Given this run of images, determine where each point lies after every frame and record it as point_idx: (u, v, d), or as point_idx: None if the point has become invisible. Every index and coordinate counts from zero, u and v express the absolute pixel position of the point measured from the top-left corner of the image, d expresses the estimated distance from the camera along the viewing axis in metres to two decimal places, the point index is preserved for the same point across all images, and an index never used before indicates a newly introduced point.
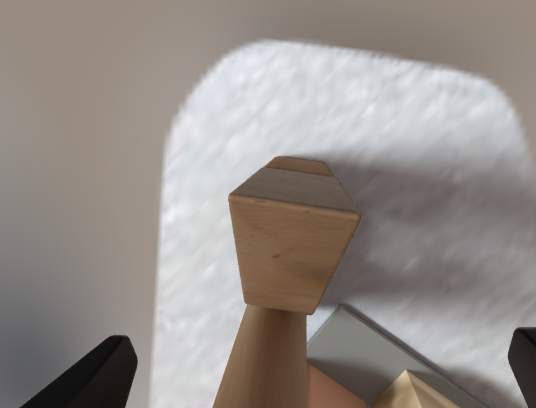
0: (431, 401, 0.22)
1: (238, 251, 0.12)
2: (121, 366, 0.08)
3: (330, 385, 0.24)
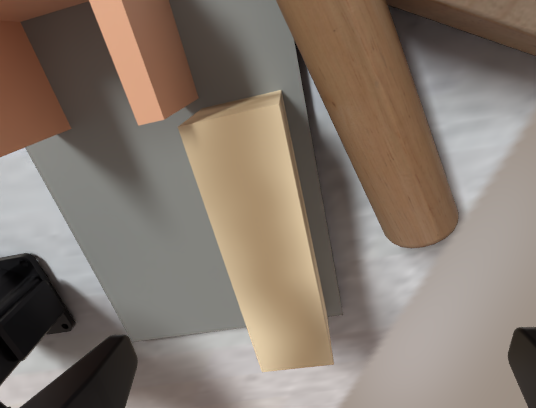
0: (286, 127, 0.15)
1: None
2: (121, 366, 0.08)
3: (170, 23, 0.14)
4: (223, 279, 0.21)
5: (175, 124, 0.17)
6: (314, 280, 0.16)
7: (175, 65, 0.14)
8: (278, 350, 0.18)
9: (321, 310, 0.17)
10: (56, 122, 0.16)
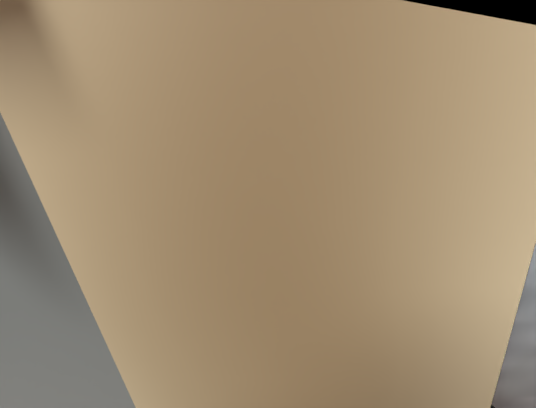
0: None
1: None
2: None
3: None
4: None
5: None
6: None
7: None
8: None
9: None
10: None
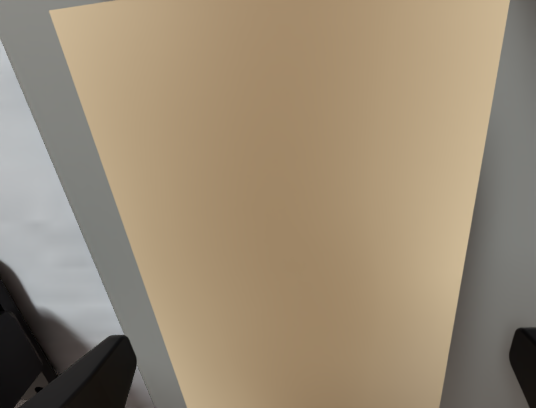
0: None
1: None
2: (120, 366, 0.08)
3: None
4: None
5: None
6: None
7: None
8: None
9: None
10: None
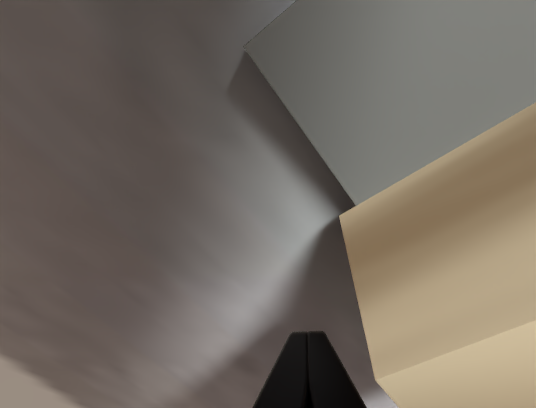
0: None
1: None
2: None
3: None
4: None
5: None
6: None
7: None
8: None
9: None
10: None
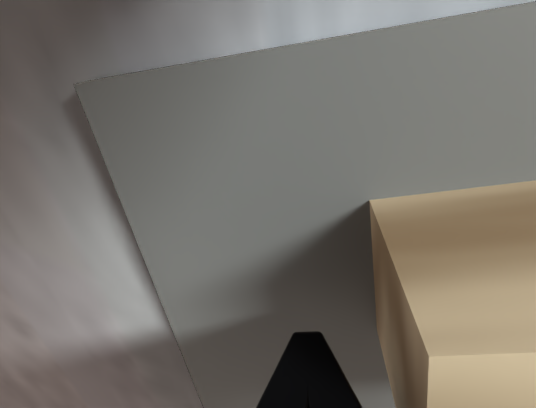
0: None
1: None
2: None
3: None
4: None
5: None
6: None
7: None
8: None
9: None
10: None
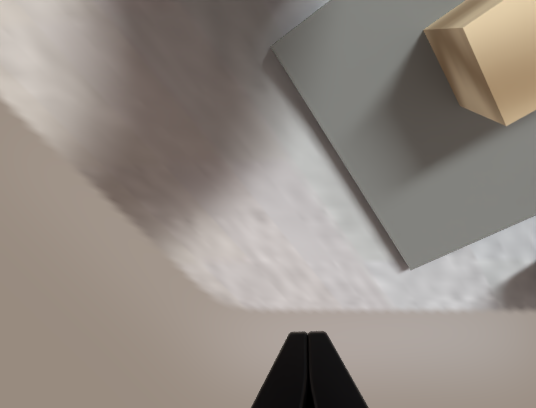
0: None
1: None
2: None
3: None
4: (429, 140, 0.17)
5: None
6: None
7: None
8: (523, 32, 0.11)
9: None
10: None
